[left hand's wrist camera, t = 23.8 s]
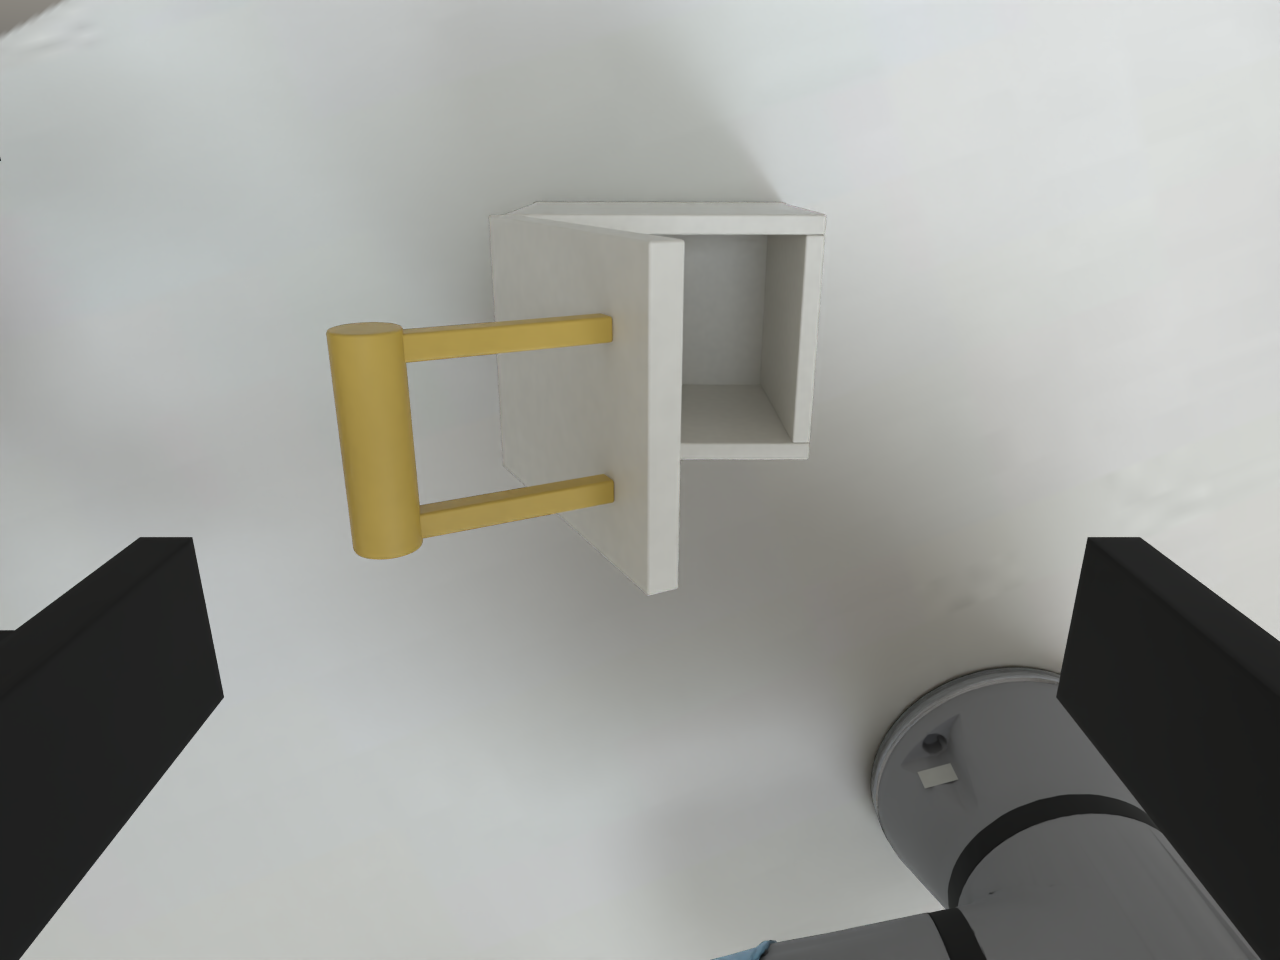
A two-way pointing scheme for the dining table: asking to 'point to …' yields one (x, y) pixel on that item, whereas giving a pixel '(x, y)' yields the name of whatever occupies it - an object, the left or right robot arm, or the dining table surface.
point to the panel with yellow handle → (538, 399)
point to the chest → (735, 317)
